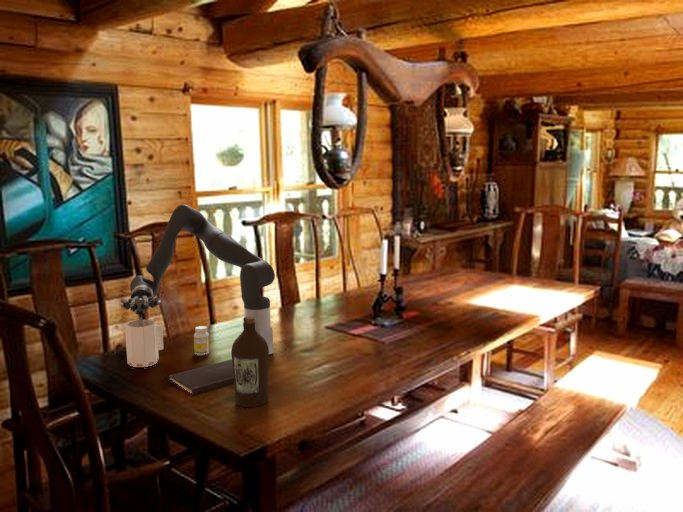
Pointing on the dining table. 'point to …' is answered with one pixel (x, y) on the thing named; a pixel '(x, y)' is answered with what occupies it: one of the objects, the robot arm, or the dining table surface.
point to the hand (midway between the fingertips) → (139, 308)
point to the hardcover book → (205, 377)
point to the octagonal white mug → (143, 342)
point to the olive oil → (250, 366)
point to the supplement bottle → (201, 341)
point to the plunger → (139, 309)
